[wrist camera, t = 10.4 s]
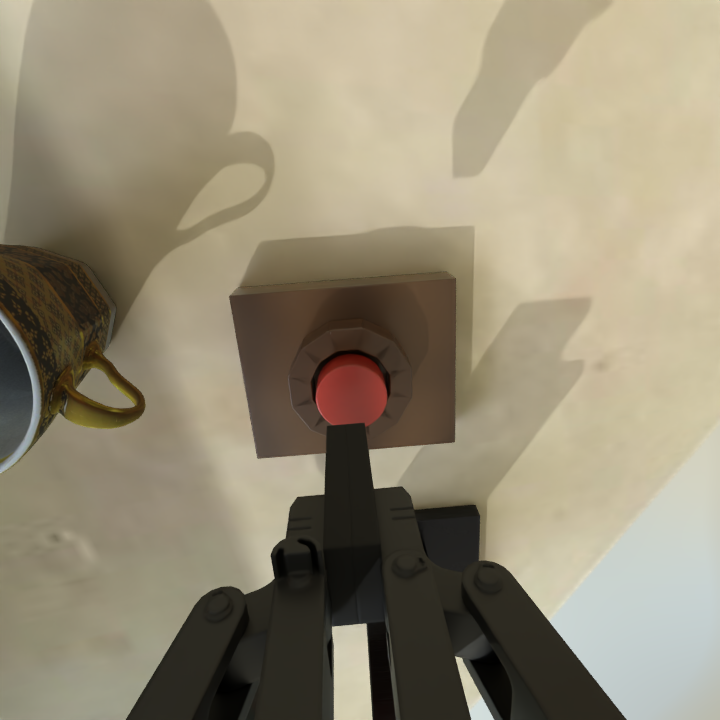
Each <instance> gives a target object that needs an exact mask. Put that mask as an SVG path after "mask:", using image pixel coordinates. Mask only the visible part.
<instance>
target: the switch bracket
mask: <svg viewBox="0 0 720 720" xmlns="http://www.w3.org/2000/svg"><path fill="white" fill-rule="evenodd" d="M414 512H415V517H416V520H417V524H418V528H419V532H420V536H421V540H422V544H423V548H424V551H425V553H426V556H427V557H428V558H429V559H430V561H432V562H433V563H434V564H436V565H437V566H439V567H441V568H444V569H448V570H452V571H458V572H463V571H464V569H465V568H466V567H467V566H468V565H470V564H471V563H473V562H477V561H479V536H480V515H479V512H478V510H477V508H476V505H468V506H456V507H445V508H433V509H421V510H414ZM367 637H368V653H369V669H370V685H371V701H372V717H373V720H396V715H395V707H394V698H393V689H392V680H391V672H390V663H389V660H388V650H387V635H386V622H385V621H383V622H373V623H367Z"/></svg>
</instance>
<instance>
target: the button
mask: <svg viewBox="0 0 720 720" xmlns="http://www.w3.org/2000/svg"><path fill="white" fill-rule="evenodd" d="M316 404H317V408H318V410H319V412H320V414H321V415H322V416H323V418H324V419H325V420H326V421H328V422H329V423H330V424H332V425H342V424H353V423H365V427H366V426H368V425H370V424H372V423H373V422H375V421H376V420H377V419H378V418H379V417H380V416H381V414H382V413H383V411H384V409H385V407H386V404H387V390H386V385H385V381H384V377H383V374H382V372H381V370H380V368H379V367H378V366H377V364H376V363H375V362H373V361H372V360H371V359H369V358H367V357H365V356H362V355H359V354H344V355H340V356H337V357H335V358H333V359H331V360H330V361H329V362H328V363H327V364H325V366H324V367H323V368H322V370H321V371H320V374H319V376H318V380H317V389H316Z"/></svg>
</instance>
